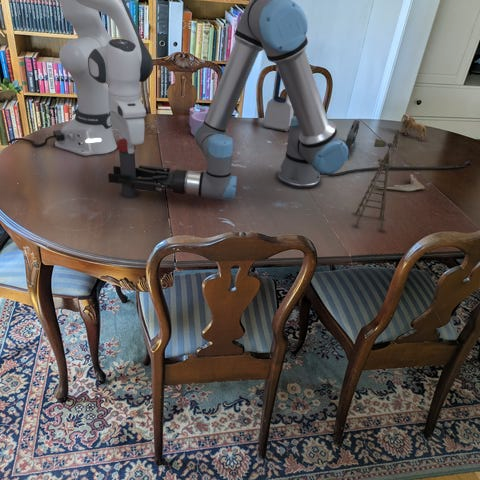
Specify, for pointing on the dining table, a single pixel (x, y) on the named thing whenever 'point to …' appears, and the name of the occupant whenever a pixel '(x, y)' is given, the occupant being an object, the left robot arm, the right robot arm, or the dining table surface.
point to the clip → (196, 118)
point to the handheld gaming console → (352, 136)
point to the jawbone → (414, 185)
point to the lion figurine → (413, 126)
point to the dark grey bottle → (127, 171)
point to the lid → (123, 145)
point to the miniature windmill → (382, 163)
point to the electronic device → (278, 109)
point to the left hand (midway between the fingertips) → (127, 148)
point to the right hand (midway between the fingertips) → (111, 174)
